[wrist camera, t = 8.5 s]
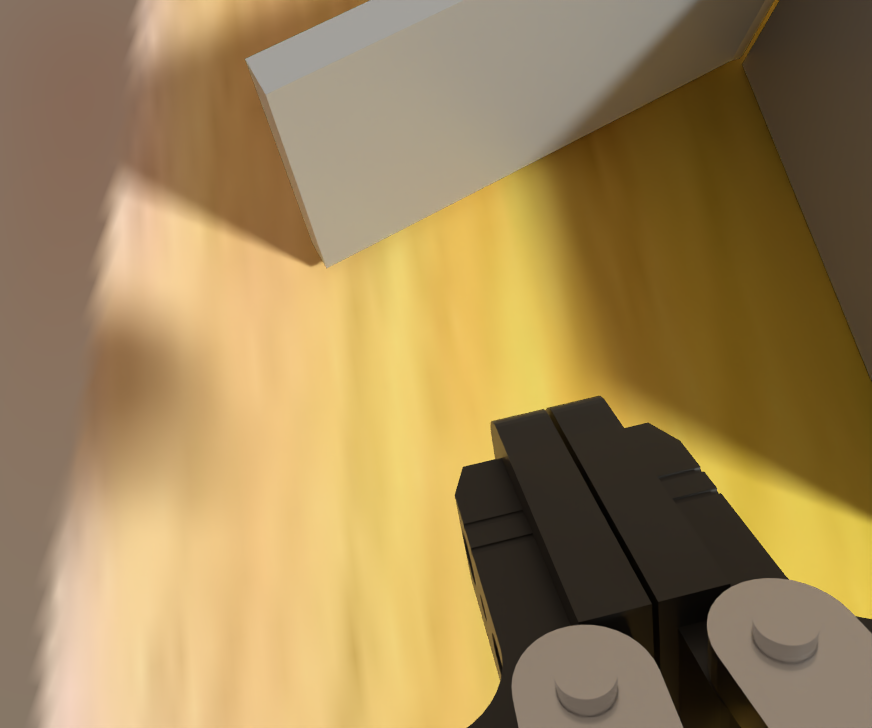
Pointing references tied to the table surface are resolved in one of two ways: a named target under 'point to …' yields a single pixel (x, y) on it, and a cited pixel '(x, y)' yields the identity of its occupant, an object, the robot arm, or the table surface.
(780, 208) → the table surface
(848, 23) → the block
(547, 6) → the door
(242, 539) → the table surface
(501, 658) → the robot arm
